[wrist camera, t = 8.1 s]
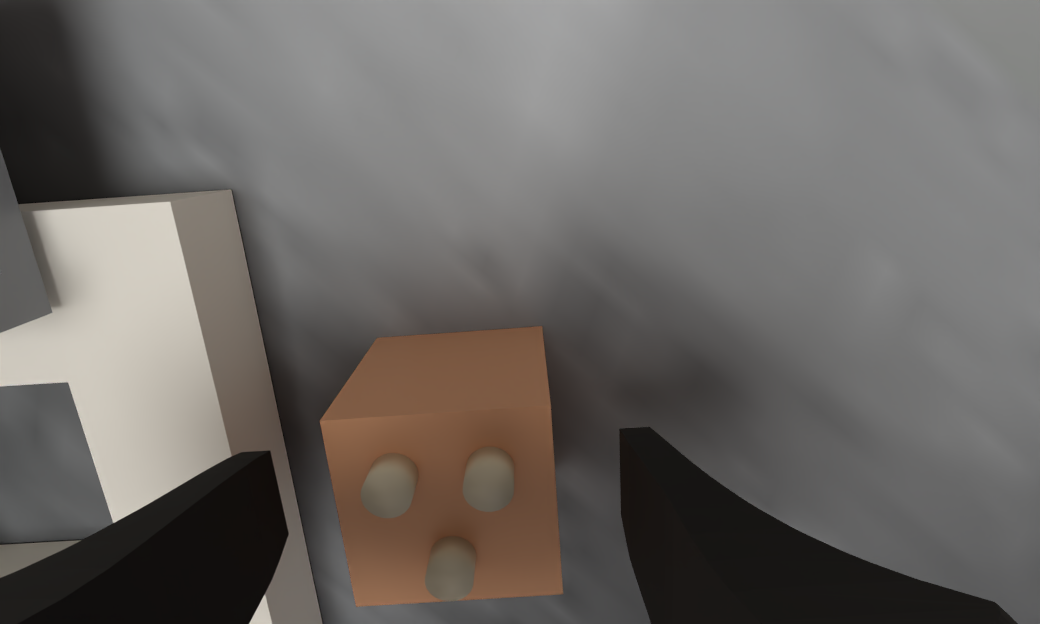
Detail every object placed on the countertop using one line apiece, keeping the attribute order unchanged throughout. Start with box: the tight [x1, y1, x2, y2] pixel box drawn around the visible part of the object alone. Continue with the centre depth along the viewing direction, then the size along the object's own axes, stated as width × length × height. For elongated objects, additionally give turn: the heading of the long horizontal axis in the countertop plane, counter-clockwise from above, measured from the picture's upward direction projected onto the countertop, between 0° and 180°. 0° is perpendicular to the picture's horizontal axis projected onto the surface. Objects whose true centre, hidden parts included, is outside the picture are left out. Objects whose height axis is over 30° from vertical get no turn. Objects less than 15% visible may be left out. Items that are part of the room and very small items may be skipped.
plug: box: [320, 326, 563, 607], centre depth 13 cm, size 4×4×5 cm
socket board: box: [0, 189, 323, 624], centre depth 15 cm, size 16×12×2 cm
